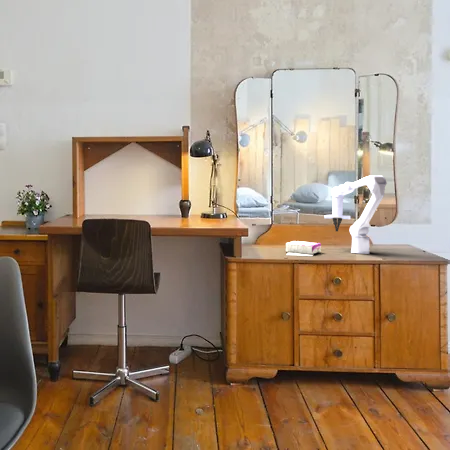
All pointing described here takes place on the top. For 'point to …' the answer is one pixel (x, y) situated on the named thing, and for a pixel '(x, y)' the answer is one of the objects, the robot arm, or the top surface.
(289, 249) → the candy bar box
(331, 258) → the top surface
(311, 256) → the mat
